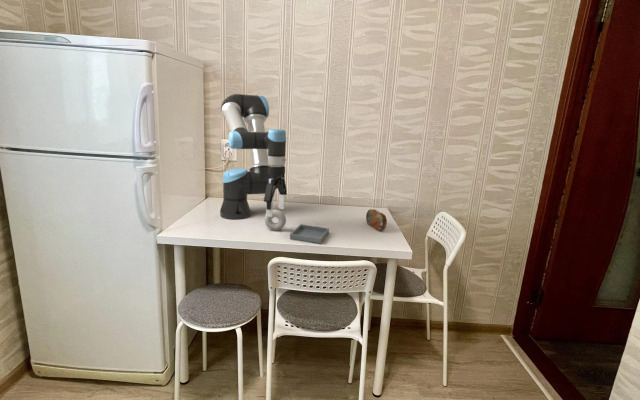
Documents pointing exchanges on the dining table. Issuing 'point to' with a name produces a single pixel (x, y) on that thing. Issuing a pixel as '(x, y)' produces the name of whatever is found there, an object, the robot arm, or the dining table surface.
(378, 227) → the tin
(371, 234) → the dining table surface
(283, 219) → the donut
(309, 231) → the tray
